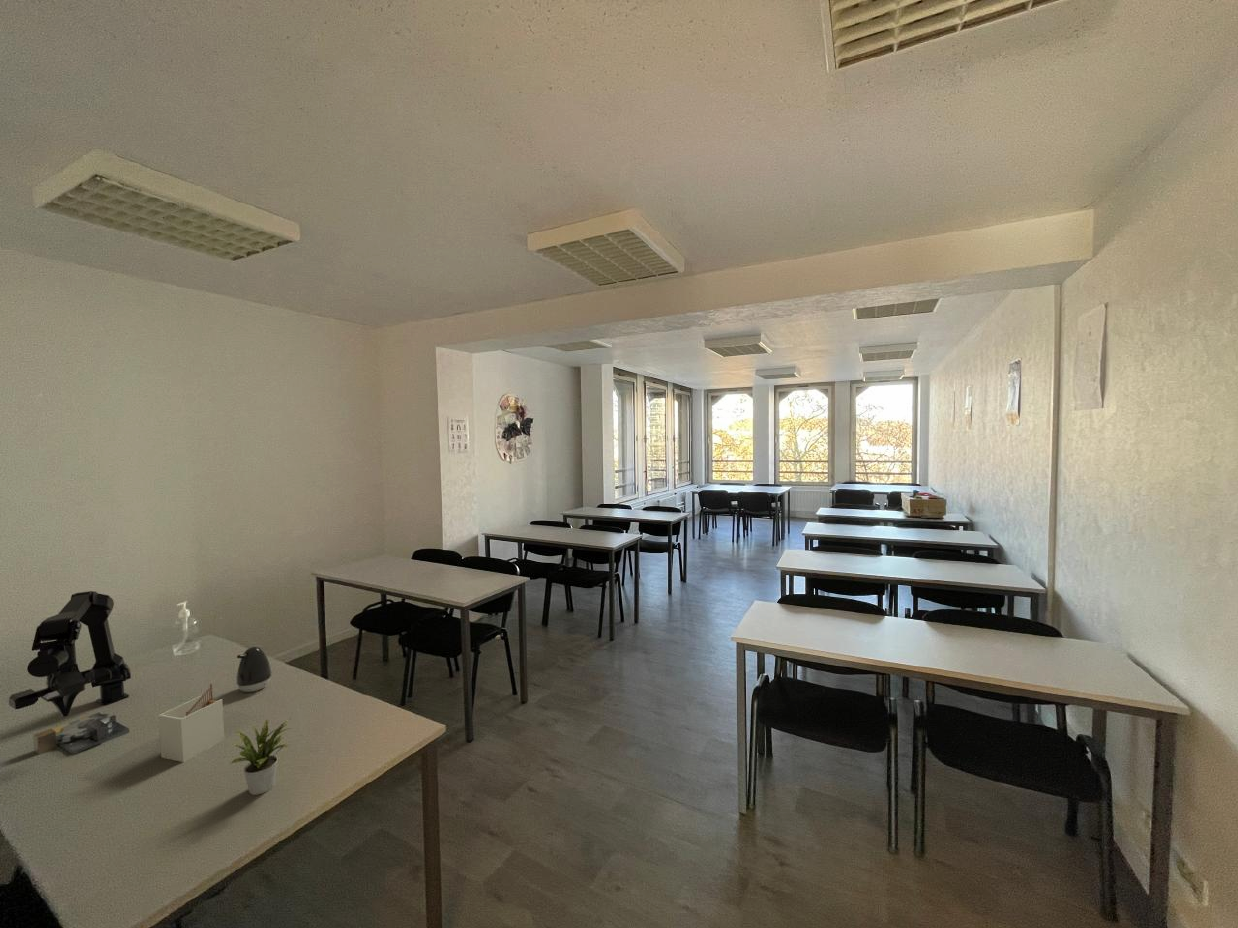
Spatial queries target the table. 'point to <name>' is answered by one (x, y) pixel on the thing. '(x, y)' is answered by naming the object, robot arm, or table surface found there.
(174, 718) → the white planter box
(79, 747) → the base plate
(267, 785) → the house plant
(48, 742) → the striped gift box
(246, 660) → the pump dispenser
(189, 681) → the table surface
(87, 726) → the sprocket
